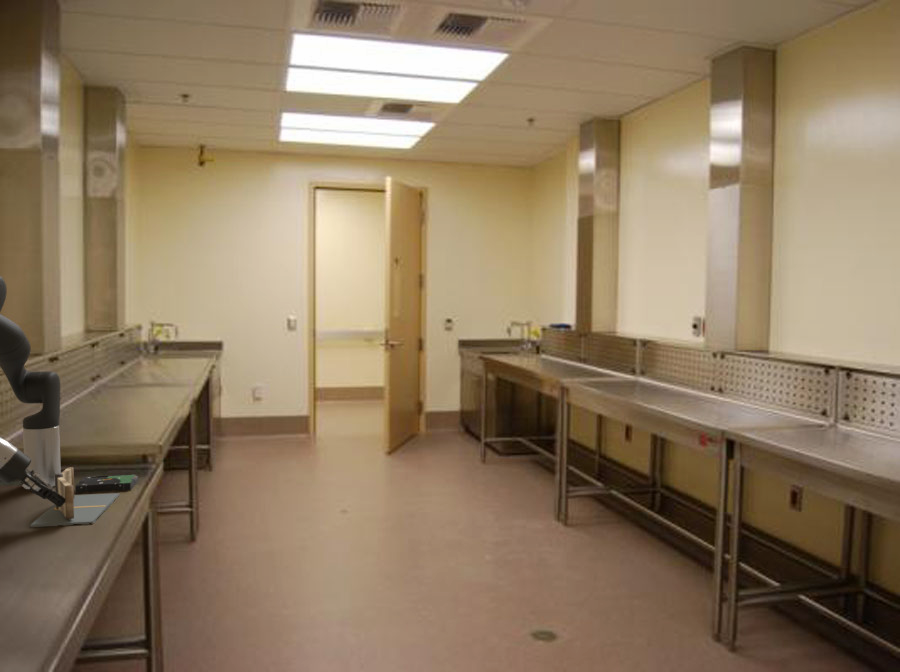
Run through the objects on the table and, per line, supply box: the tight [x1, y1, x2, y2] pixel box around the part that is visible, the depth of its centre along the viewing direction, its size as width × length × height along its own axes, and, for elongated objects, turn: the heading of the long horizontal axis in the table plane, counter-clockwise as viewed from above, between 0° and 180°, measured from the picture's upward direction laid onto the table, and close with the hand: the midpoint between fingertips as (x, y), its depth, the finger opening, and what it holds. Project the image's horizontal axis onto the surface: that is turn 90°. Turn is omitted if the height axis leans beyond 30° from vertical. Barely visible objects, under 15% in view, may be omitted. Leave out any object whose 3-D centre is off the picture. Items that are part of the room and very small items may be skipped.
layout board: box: [29, 492, 120, 528], centre depth 189 cm, size 25×14×1 cm, turn 11°
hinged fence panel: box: [58, 477, 74, 519], centre depth 182 cm, size 12×2×8 cm, turn 38°
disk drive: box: [74, 474, 139, 494], centre depth 211 cm, size 10×3×15 cm
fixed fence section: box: [54, 466, 75, 509], centre depth 192 cm, size 10×2×10 cm, turn 11°
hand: (62, 503), depth 178 cm, fingers closed
